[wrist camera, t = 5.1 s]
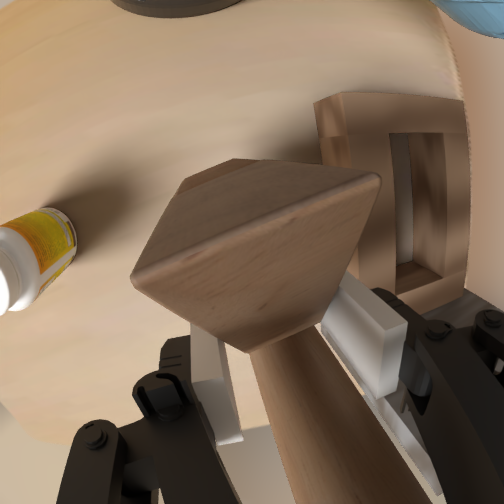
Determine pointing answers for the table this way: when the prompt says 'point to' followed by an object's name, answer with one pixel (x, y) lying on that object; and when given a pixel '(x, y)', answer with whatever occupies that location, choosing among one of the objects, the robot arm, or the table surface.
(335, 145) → the post block
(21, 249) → the supplement bottle
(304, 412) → the wooden block
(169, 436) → the robot arm
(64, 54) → the table surface
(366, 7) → the table surface
